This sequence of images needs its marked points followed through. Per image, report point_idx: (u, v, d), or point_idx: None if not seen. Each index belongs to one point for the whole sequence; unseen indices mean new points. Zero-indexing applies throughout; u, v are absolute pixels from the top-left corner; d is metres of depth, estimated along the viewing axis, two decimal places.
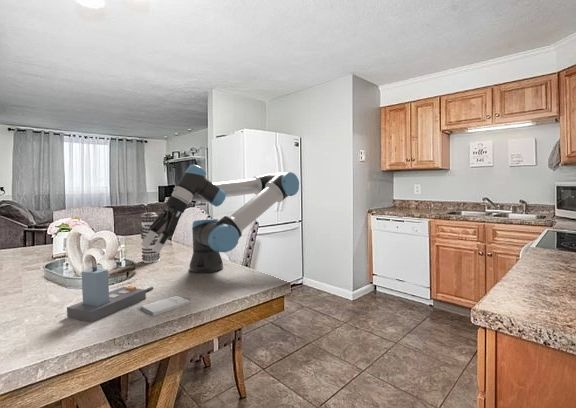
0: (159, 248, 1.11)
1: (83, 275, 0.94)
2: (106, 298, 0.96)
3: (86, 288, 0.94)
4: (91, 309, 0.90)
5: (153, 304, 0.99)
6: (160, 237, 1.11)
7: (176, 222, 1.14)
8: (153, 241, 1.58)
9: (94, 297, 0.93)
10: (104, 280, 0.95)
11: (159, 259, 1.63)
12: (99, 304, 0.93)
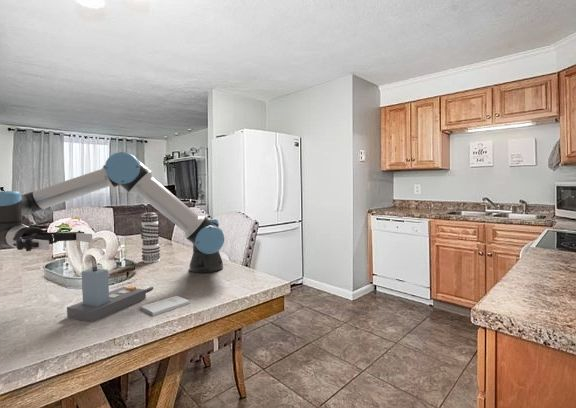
0: (42, 243, 0.92)
1: (83, 275, 0.94)
2: (106, 298, 0.96)
3: (86, 288, 0.94)
4: (91, 309, 0.90)
5: (153, 304, 0.99)
6: (35, 248, 0.93)
7: (16, 241, 0.95)
8: (153, 241, 1.58)
9: (94, 297, 0.93)
10: (104, 280, 0.95)
11: (159, 259, 1.63)
12: (99, 304, 0.93)
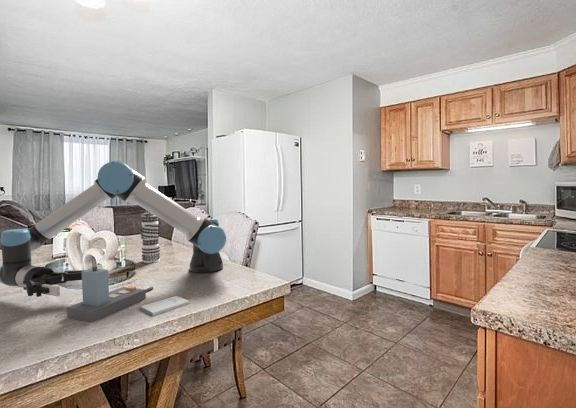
0: (53, 289, 0.91)
1: (83, 275, 0.94)
2: (106, 298, 0.96)
3: (86, 288, 0.94)
4: (91, 309, 0.90)
5: (152, 304, 0.99)
6: (45, 293, 0.92)
7: (26, 285, 0.94)
8: (153, 241, 1.58)
9: (94, 297, 0.93)
10: (104, 280, 0.95)
11: (159, 259, 1.63)
12: (99, 304, 0.93)
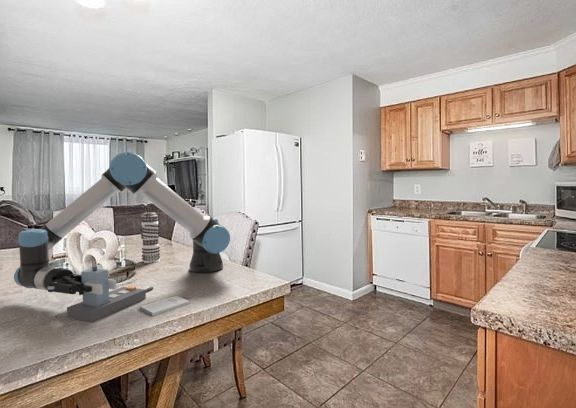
0: (96, 287, 0.91)
1: (83, 275, 0.94)
2: (106, 298, 0.96)
3: None
4: (91, 309, 0.90)
5: (152, 304, 0.99)
6: (87, 292, 0.93)
7: (59, 286, 0.92)
8: (153, 241, 1.58)
9: (94, 297, 0.93)
10: (104, 280, 0.95)
11: (159, 259, 1.63)
12: (99, 304, 0.93)
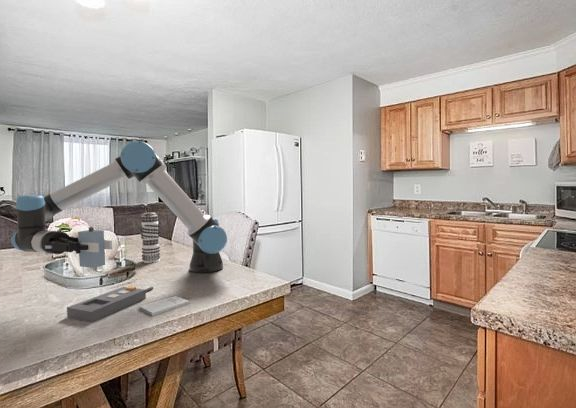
0: (92, 245, 0.95)
1: (80, 235, 0.98)
2: (102, 257, 0.99)
3: None
4: (91, 309, 0.90)
5: (152, 304, 0.99)
6: (84, 250, 0.96)
7: (56, 245, 0.96)
8: (153, 241, 1.58)
9: (90, 255, 0.97)
10: (100, 241, 0.99)
11: (159, 259, 1.63)
12: (95, 263, 0.97)
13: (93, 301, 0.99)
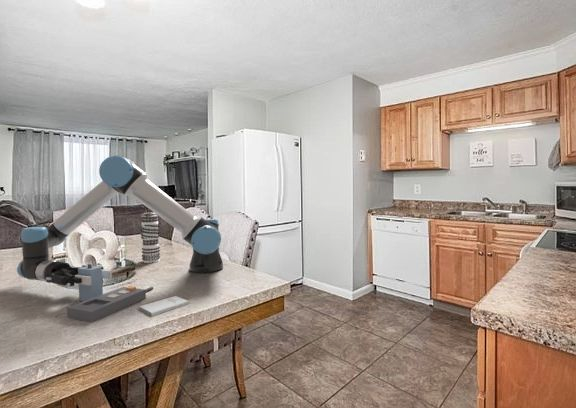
0: (85, 279, 1.01)
1: (79, 272, 1.05)
2: (100, 292, 1.07)
3: None
4: (91, 309, 0.90)
5: (151, 304, 0.99)
6: (78, 283, 1.03)
7: (54, 277, 1.03)
8: (153, 241, 1.58)
9: (89, 291, 1.04)
10: (98, 276, 1.06)
11: (159, 259, 1.63)
12: (93, 297, 1.05)
13: (93, 301, 0.99)
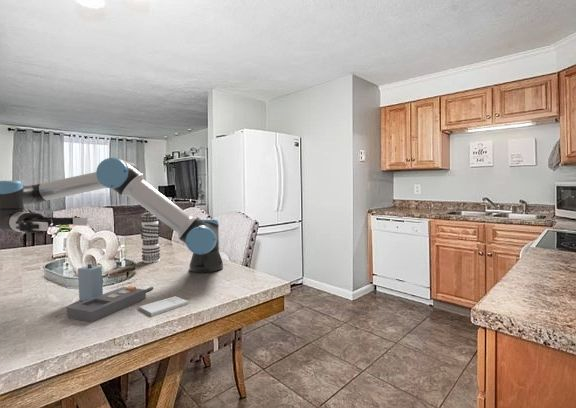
0: (42, 224, 1.03)
1: (79, 272, 1.05)
2: (100, 292, 1.07)
3: (82, 283, 1.05)
4: (91, 309, 0.90)
5: (151, 304, 0.99)
6: (35, 229, 1.04)
7: (18, 223, 1.06)
8: (153, 241, 1.58)
9: (89, 291, 1.04)
10: (98, 276, 1.06)
11: (159, 259, 1.63)
12: (93, 297, 1.05)
13: (93, 301, 0.99)
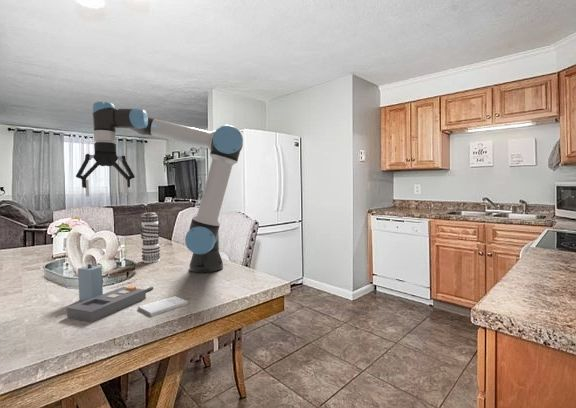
0: (86, 192, 1.21)
1: (79, 272, 1.05)
2: (100, 292, 1.07)
3: (82, 283, 1.05)
4: (91, 309, 0.90)
5: (151, 305, 0.99)
6: None
7: (82, 164, 1.19)
8: (153, 241, 1.58)
9: (89, 291, 1.04)
10: (98, 276, 1.06)
11: (159, 259, 1.63)
12: (93, 297, 1.05)
13: (93, 301, 0.99)
